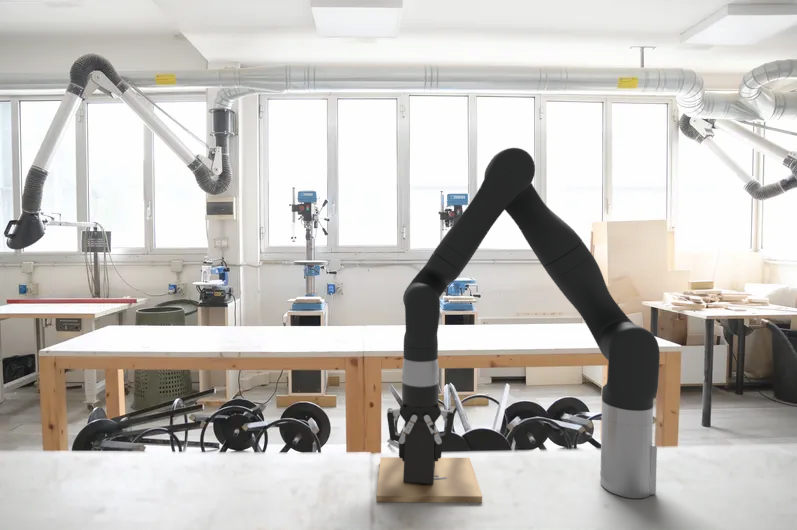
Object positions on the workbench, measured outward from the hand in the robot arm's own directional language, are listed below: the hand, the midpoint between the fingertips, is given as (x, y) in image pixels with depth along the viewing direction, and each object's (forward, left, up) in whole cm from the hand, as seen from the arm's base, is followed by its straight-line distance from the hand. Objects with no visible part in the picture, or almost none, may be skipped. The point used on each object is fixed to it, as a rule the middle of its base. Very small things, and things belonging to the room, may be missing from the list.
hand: (419, 459), depth 95 cm
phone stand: (0, 0, -3) cm, 3 cm away
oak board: (-2, 0, -4) cm, 5 cm away
